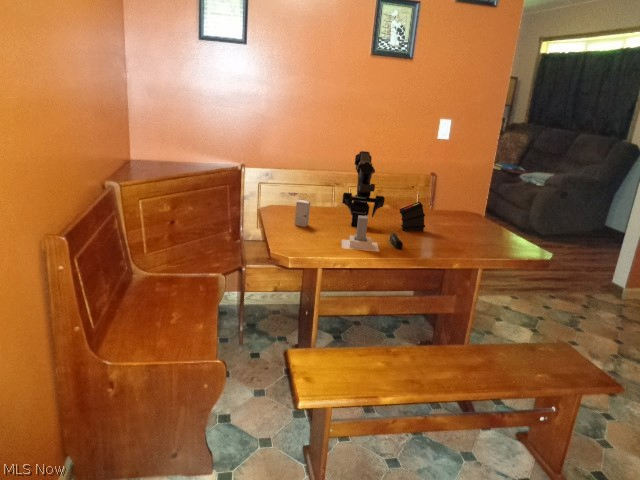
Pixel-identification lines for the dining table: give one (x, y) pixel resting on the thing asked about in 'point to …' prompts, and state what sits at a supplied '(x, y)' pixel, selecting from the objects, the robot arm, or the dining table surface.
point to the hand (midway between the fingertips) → (362, 215)
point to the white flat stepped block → (360, 244)
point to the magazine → (413, 217)
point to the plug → (361, 228)
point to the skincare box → (302, 213)
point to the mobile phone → (395, 241)
